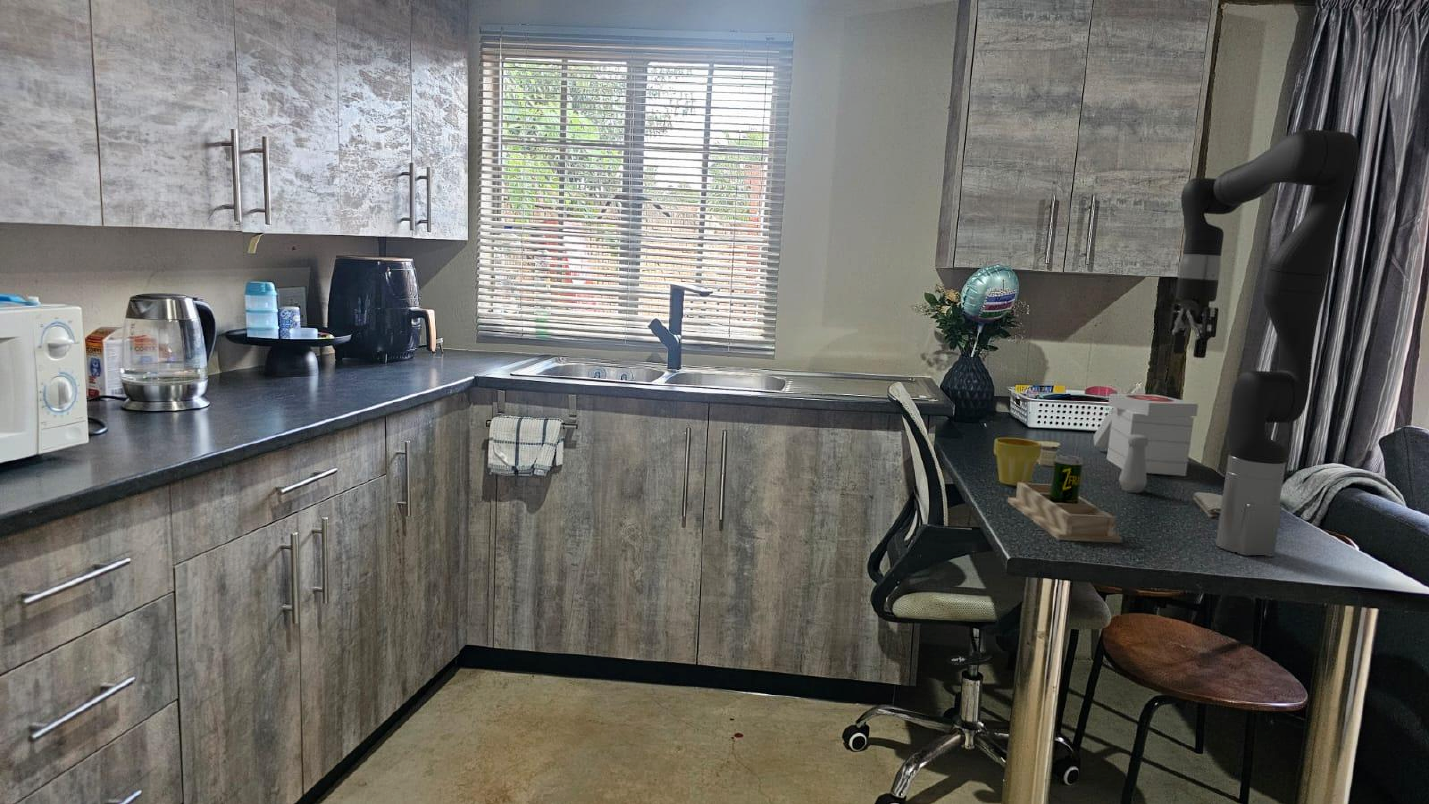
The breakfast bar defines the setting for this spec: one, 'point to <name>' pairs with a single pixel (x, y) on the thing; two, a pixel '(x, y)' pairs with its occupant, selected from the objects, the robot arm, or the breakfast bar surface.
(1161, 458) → the pizza boxes
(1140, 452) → the salt shaker
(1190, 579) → the breakfast bar surface
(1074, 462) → the beer can
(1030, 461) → the plant pot
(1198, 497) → the washcloth
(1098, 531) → the wooden compartment organizer
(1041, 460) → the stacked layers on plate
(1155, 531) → the breakfast bar surface
